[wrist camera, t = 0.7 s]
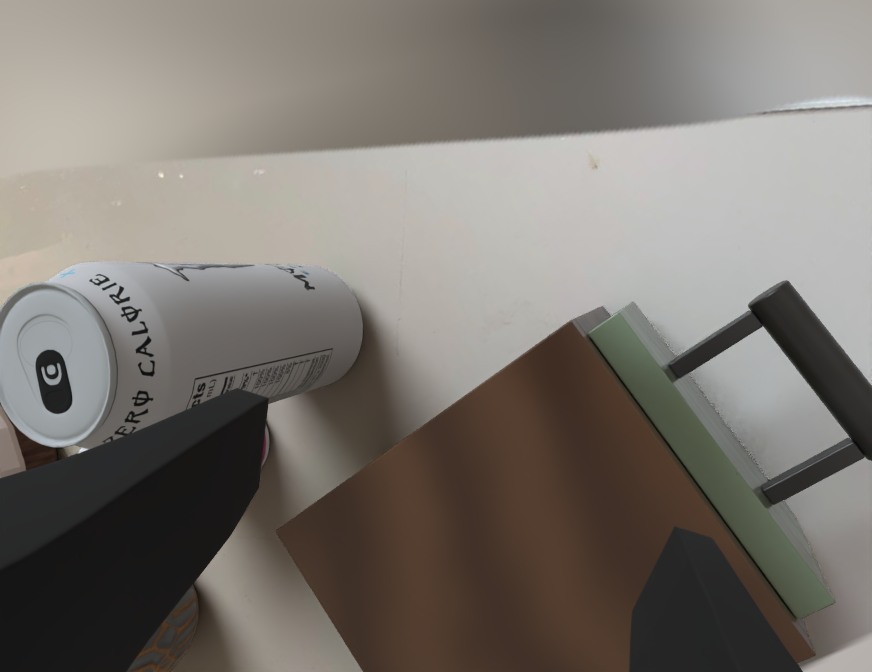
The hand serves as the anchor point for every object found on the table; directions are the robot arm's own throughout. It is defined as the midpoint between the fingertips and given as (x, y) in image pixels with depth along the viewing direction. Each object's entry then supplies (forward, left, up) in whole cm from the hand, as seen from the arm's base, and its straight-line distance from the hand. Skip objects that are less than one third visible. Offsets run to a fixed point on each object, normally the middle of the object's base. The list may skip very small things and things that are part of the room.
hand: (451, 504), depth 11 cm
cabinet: (-4, +5, -18) cm, 19 cm away
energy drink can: (+9, +10, -18) cm, 23 cm away
